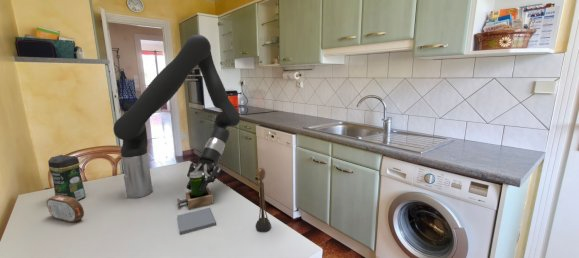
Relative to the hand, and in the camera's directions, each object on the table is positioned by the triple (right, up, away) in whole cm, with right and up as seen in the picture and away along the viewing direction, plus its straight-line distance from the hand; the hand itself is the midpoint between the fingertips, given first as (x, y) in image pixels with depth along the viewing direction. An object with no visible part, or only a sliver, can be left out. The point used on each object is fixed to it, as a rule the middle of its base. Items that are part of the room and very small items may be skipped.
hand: (194, 190), depth 98 cm
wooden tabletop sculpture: (+27, -9, -16) cm, 33 cm away
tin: (-42, -9, -7) cm, 44 cm away
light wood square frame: (-1, -5, +2) cm, 6 cm away
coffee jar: (-53, -6, +8) cm, 54 cm away
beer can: (+1, -5, +3) cm, 6 cm away
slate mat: (+4, -8, -11) cm, 14 cm away
